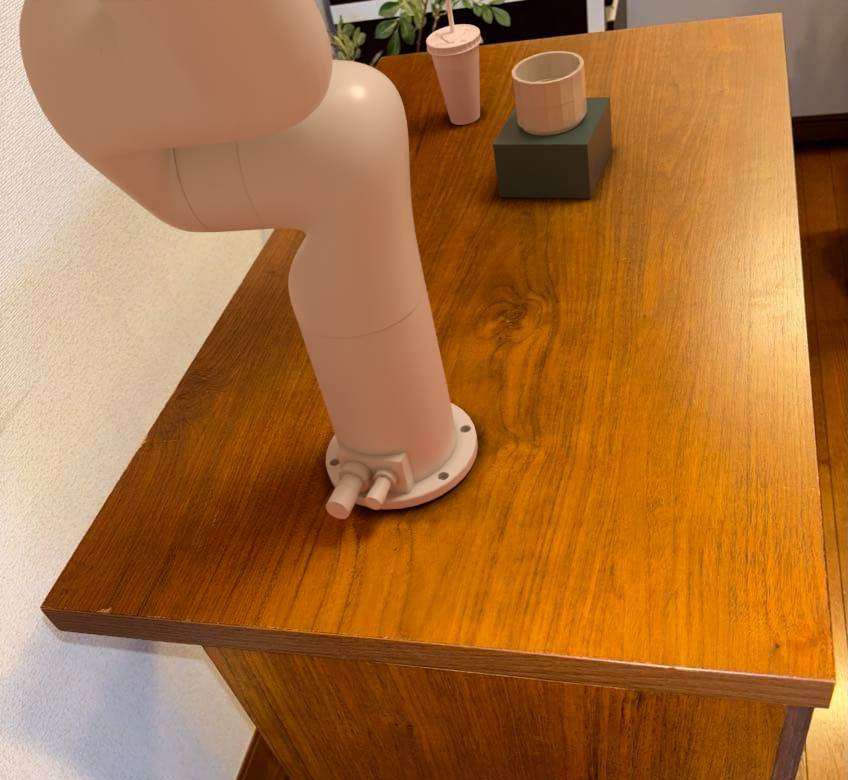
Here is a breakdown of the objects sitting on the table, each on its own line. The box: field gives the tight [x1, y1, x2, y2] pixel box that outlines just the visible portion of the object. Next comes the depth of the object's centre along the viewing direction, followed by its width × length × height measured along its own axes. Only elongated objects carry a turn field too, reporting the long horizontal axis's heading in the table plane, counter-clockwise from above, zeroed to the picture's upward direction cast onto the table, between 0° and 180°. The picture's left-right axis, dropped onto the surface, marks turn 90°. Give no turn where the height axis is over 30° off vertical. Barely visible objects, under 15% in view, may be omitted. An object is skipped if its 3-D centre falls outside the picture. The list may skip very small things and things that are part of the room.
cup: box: [510, 50, 587, 135], centre depth 101 cm, size 7×7×6 cm
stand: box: [492, 96, 613, 200], centre depth 105 cm, size 10×10×6 cm
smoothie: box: [425, 0, 482, 126], centre depth 115 cm, size 6×6×14 cm
